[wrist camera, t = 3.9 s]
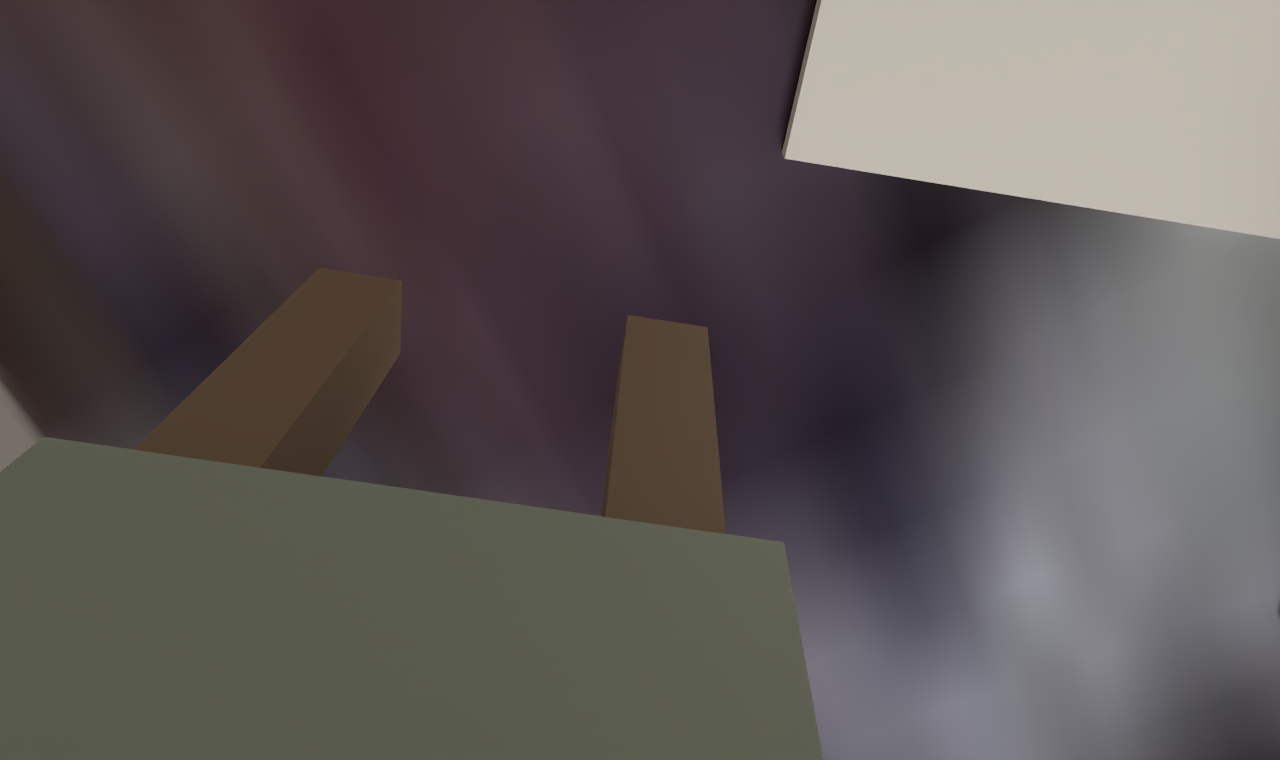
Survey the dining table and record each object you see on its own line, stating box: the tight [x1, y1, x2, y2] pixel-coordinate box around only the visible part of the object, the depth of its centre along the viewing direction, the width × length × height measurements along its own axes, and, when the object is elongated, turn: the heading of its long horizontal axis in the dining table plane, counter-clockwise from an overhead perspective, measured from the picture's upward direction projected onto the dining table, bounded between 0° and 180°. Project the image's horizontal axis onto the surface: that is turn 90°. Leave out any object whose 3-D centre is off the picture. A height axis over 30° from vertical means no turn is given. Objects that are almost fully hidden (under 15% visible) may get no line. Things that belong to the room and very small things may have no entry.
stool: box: [0, 268, 823, 760], centre depth 8 cm, size 6×6×8 cm
